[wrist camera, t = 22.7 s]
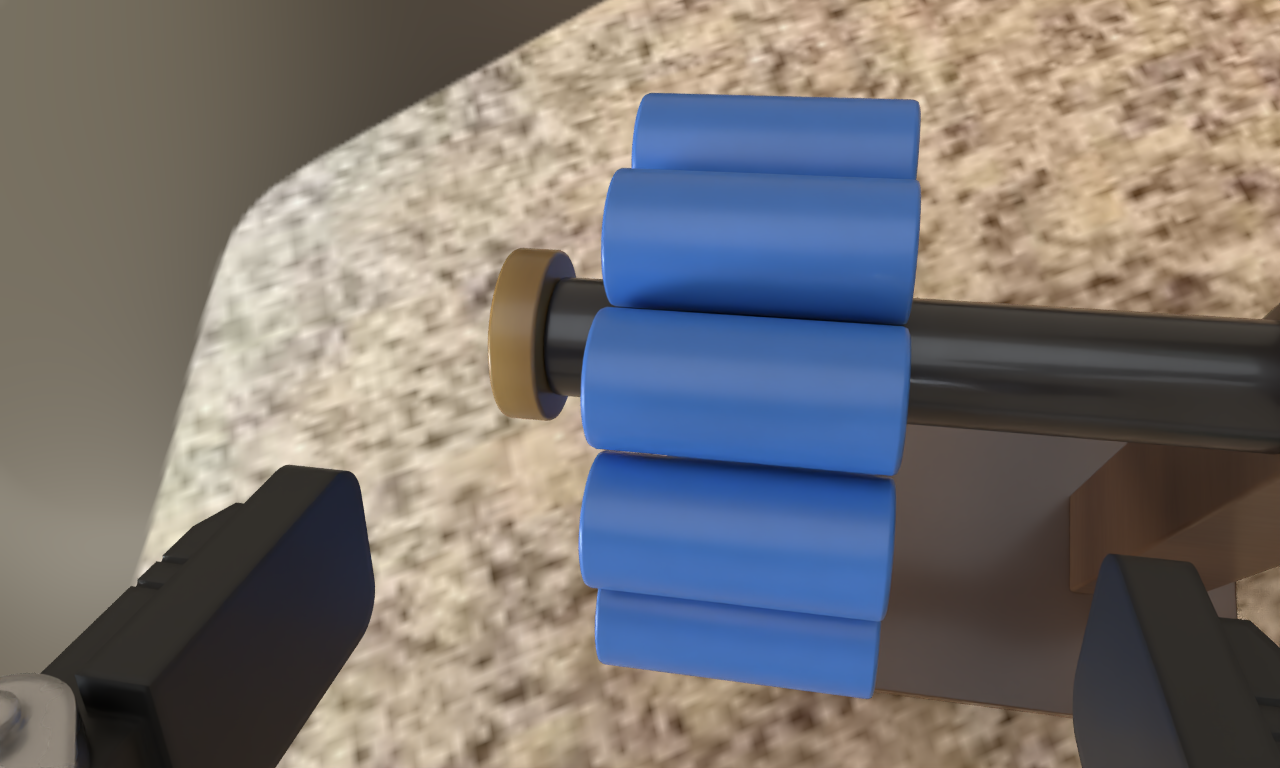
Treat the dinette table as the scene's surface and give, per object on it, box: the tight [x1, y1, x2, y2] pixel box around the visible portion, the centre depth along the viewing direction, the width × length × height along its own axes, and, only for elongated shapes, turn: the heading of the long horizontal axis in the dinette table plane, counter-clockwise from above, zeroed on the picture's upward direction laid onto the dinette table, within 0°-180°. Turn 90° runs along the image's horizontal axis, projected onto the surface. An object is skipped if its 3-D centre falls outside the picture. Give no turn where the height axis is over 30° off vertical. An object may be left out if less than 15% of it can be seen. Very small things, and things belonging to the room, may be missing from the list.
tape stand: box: [488, 248, 1280, 718], centre depth 19 cm, size 14×8×16 cm, turn 82°
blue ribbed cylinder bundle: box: [579, 93, 921, 699], centre depth 17 cm, size 4×9×9 cm, turn 172°
